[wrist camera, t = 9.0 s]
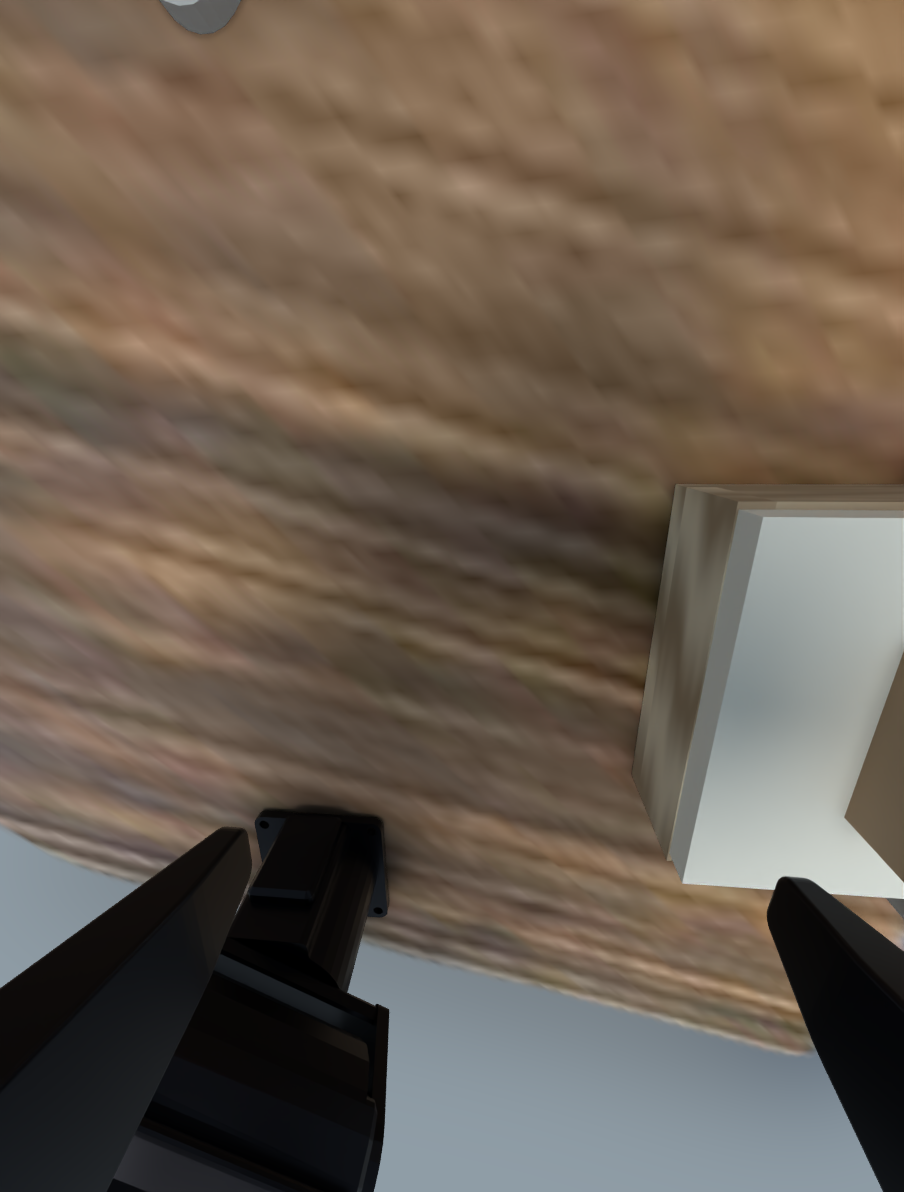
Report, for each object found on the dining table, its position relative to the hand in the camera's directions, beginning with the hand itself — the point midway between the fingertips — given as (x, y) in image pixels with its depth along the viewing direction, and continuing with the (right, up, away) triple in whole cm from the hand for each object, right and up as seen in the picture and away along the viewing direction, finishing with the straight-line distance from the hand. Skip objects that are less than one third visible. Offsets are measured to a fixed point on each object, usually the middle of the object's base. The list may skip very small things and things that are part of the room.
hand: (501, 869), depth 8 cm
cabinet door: (+12, +1, +6) cm, 14 cm away
